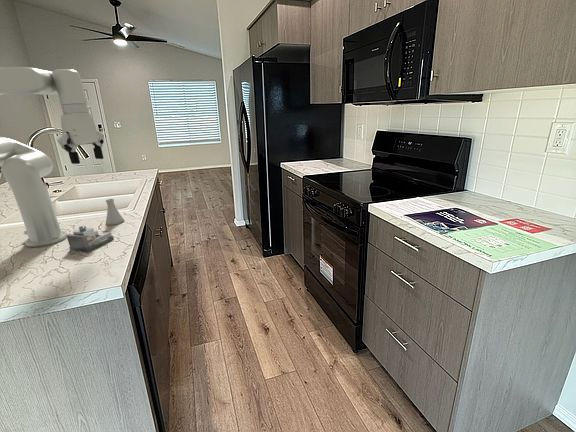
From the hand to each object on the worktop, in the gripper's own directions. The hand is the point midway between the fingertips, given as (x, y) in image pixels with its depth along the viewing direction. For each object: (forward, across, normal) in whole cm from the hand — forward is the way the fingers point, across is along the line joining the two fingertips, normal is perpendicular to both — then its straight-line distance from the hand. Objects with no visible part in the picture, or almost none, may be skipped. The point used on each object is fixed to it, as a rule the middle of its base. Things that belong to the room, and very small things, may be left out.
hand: (88, 161), depth 110 cm
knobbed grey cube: (+27, +11, +4) cm, 29 cm away
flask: (+28, -11, -7) cm, 31 cm away
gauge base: (+28, +9, +3) cm, 30 cm away
